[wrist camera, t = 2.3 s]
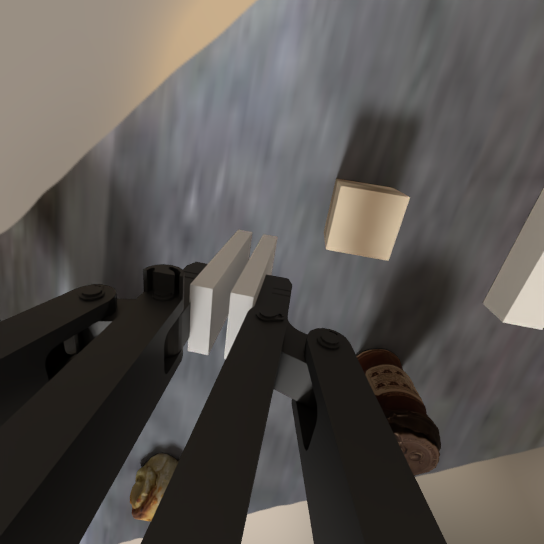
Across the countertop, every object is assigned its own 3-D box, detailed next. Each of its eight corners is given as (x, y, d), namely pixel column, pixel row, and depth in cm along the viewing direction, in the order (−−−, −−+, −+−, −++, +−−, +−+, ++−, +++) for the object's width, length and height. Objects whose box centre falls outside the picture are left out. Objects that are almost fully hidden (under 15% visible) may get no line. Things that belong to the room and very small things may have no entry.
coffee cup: (352, 333, 38) (370, 418, 26) (417, 345, 38) (464, 436, 26) (338, 383, 42) (348, 476, 30) (397, 393, 41) (430, 493, 29)
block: (323, 232, 33) (325, 249, 28) (336, 178, 31) (341, 185, 25) (376, 241, 33) (388, 260, 28) (392, 187, 31) (410, 197, 25)
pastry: (141, 445, 54) (114, 492, 47) (205, 462, 54) (188, 511, 47) (141, 488, 60) (117, 536, 53) (199, 504, 60) (183, 554, 52)
